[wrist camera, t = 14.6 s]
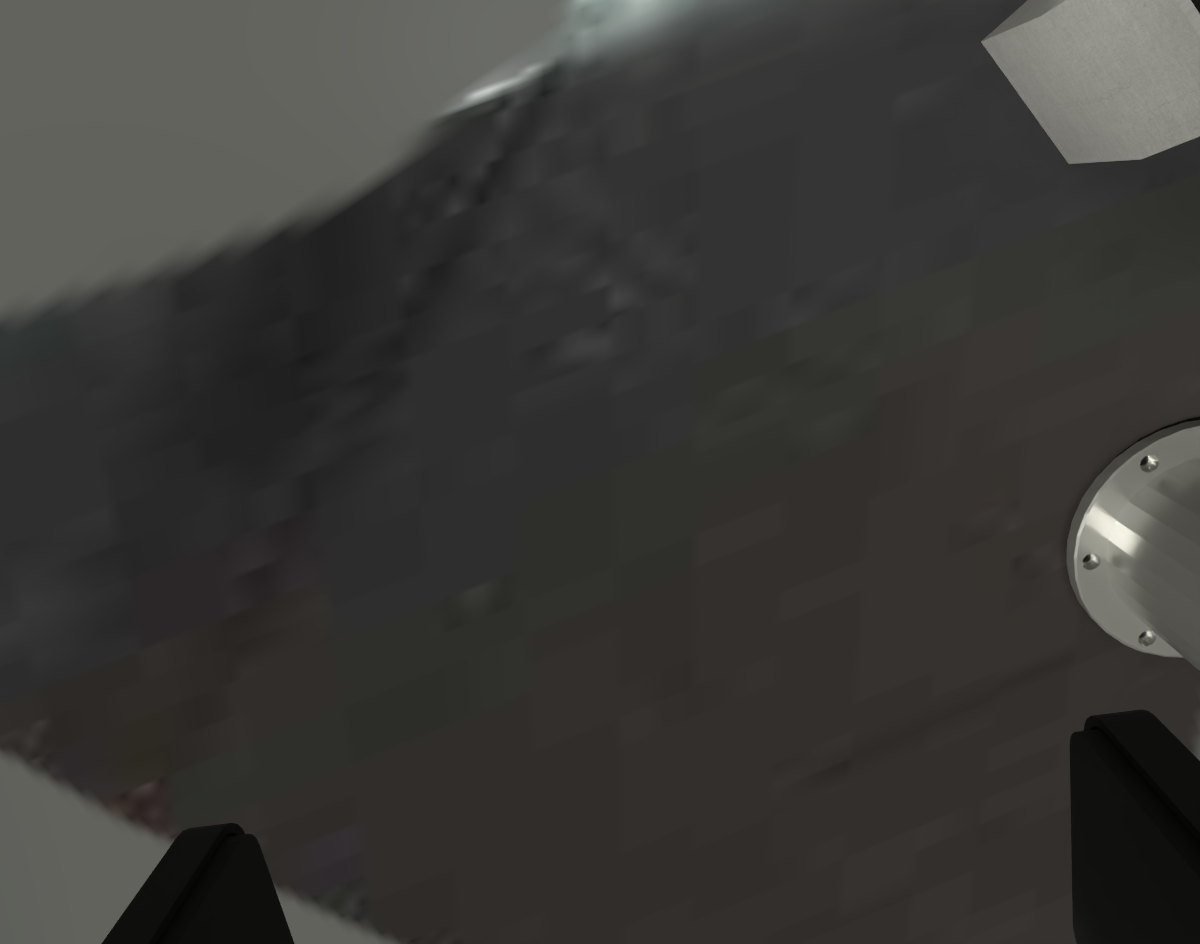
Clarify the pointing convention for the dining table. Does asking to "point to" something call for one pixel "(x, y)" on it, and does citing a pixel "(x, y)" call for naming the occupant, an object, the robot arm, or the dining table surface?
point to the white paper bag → (1105, 73)
